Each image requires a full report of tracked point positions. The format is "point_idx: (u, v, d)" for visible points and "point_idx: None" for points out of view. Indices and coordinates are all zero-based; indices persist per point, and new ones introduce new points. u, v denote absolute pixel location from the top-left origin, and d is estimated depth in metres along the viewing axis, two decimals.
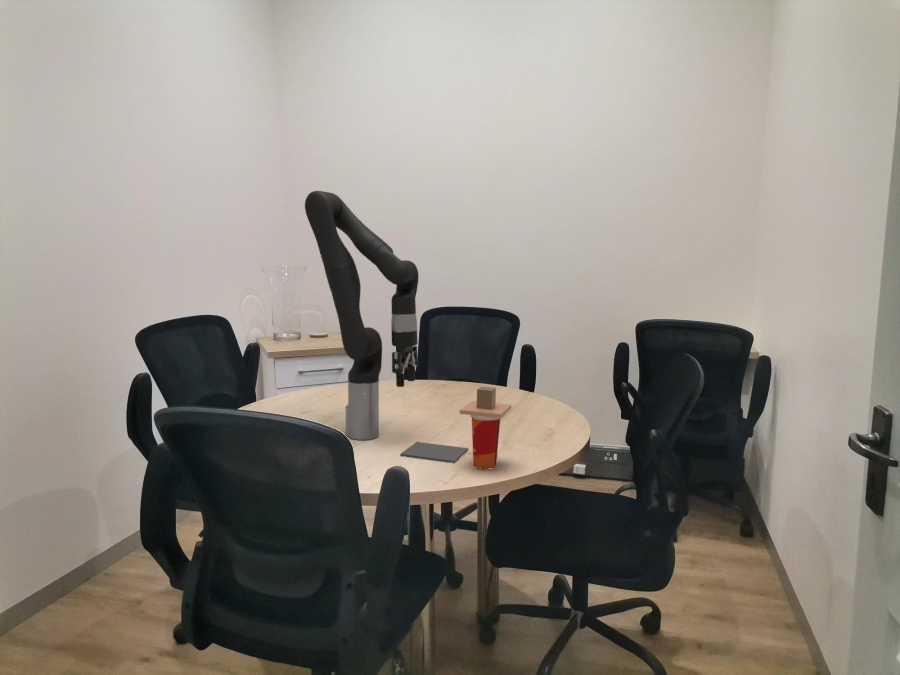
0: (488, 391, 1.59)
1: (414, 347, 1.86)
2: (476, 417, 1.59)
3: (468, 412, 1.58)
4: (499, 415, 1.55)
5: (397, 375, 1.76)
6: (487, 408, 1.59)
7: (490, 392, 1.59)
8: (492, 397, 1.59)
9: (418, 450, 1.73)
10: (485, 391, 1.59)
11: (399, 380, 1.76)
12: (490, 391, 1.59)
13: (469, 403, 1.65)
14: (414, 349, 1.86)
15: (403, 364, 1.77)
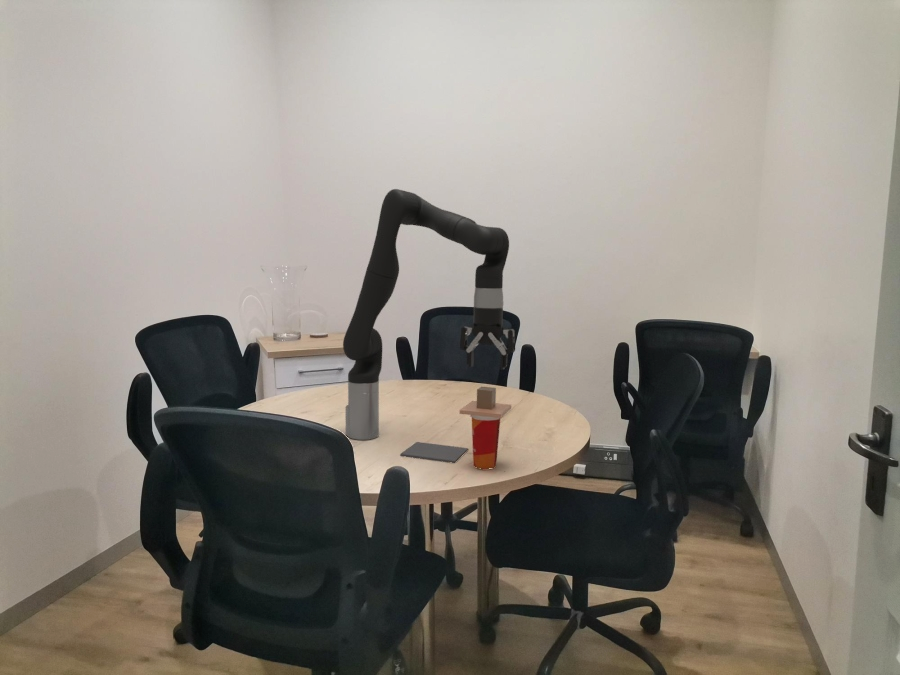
0: (488, 391, 1.59)
1: None
2: (476, 417, 1.59)
3: (468, 412, 1.58)
4: (499, 415, 1.55)
5: (506, 356, 1.58)
6: (487, 408, 1.59)
7: (490, 392, 1.59)
8: (492, 397, 1.59)
9: (418, 450, 1.73)
10: (485, 391, 1.59)
11: (506, 361, 1.58)
12: (490, 391, 1.59)
13: (469, 403, 1.65)
14: None
15: (503, 343, 1.59)
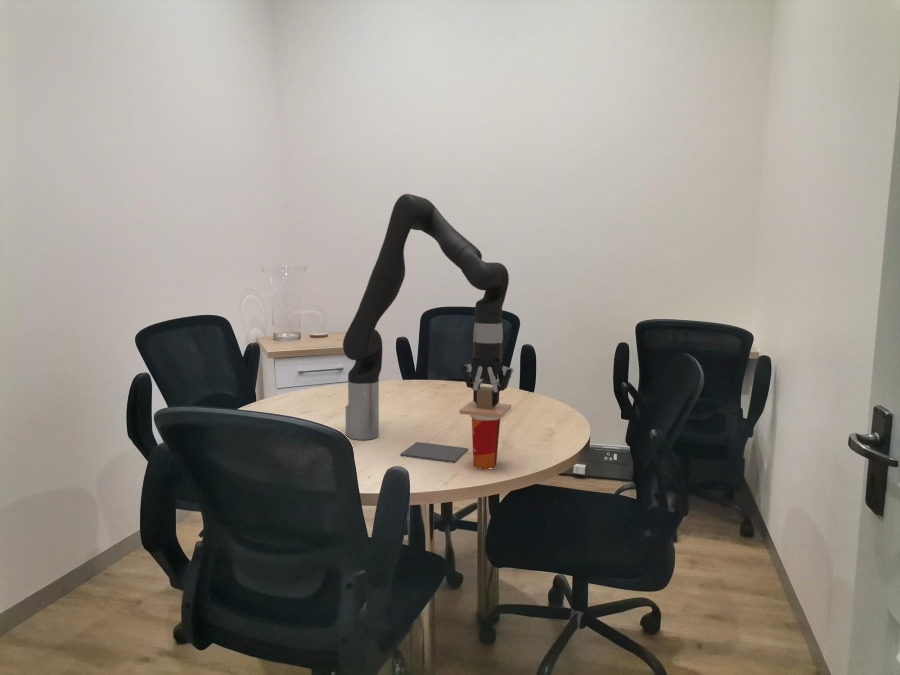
0: (488, 391, 1.59)
1: (467, 365, 1.63)
2: (476, 417, 1.59)
3: (468, 412, 1.57)
4: (499, 415, 1.55)
5: (498, 393, 1.60)
6: (487, 408, 1.59)
7: (490, 392, 1.59)
8: (492, 397, 1.59)
9: (418, 450, 1.73)
10: (485, 391, 1.59)
11: (498, 398, 1.60)
12: (490, 391, 1.59)
13: (469, 403, 1.65)
14: None
15: (498, 380, 1.61)
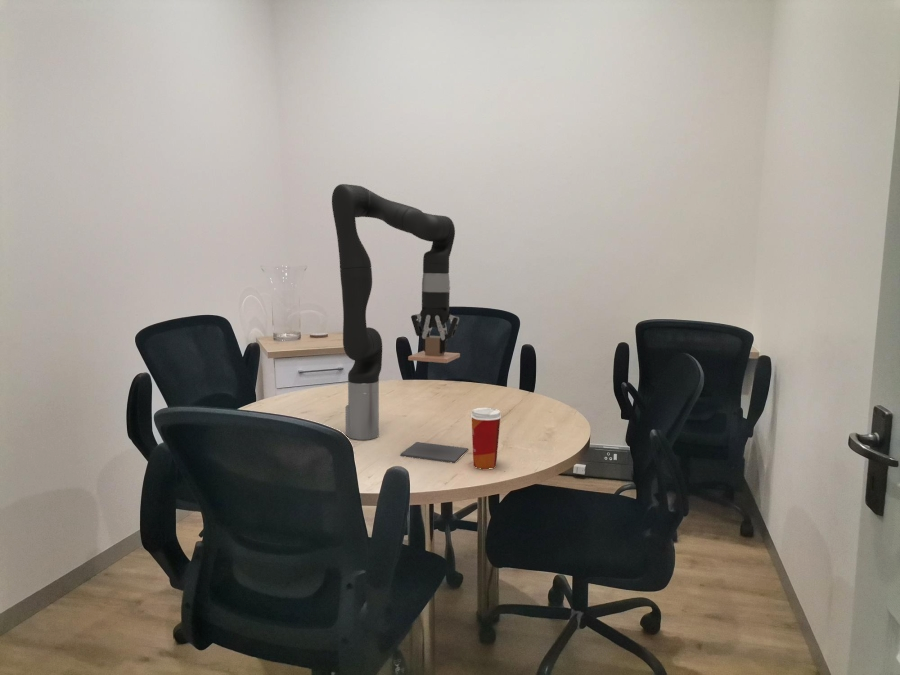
0: (436, 338, 1.66)
1: (416, 315, 1.70)
2: (476, 417, 1.59)
3: (416, 358, 1.65)
4: (445, 360, 1.62)
5: (445, 341, 1.67)
6: (435, 355, 1.67)
7: (437, 339, 1.66)
8: None
9: (418, 450, 1.73)
10: (433, 338, 1.66)
11: (446, 346, 1.68)
12: (437, 338, 1.66)
13: (419, 352, 1.73)
14: None
15: (446, 328, 1.68)
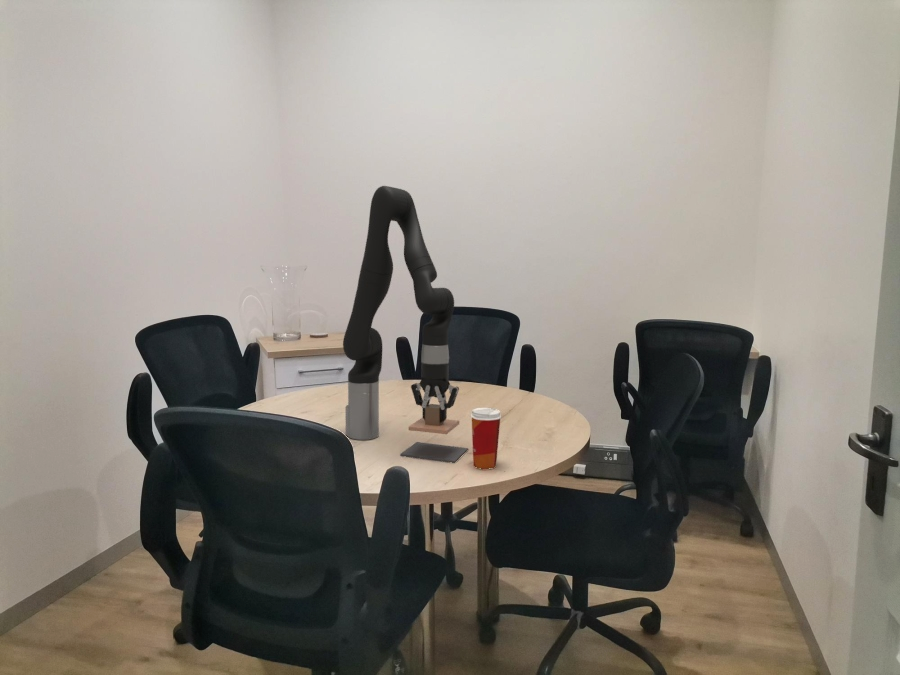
0: (435, 408, 1.69)
1: None
2: (476, 417, 1.59)
3: (416, 428, 1.67)
4: (445, 431, 1.65)
5: (445, 410, 1.70)
6: (435, 424, 1.69)
7: (437, 409, 1.69)
8: (439, 414, 1.69)
9: (418, 450, 1.73)
10: (433, 408, 1.69)
11: (445, 415, 1.70)
12: (437, 408, 1.69)
13: (419, 419, 1.75)
14: None
15: (445, 398, 1.71)
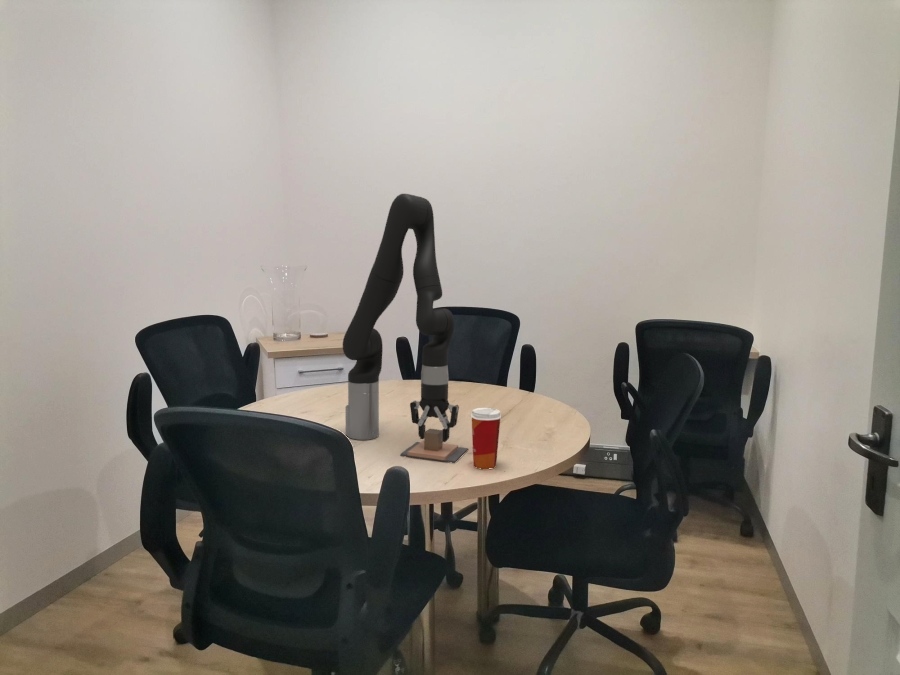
0: (434, 434, 1.70)
1: (416, 402, 1.73)
2: (476, 417, 1.59)
3: (415, 454, 1.68)
4: (443, 457, 1.66)
5: (448, 429, 1.70)
6: (433, 450, 1.70)
7: (436, 435, 1.69)
8: (438, 439, 1.70)
9: None
10: (432, 434, 1.70)
11: (448, 434, 1.71)
12: (436, 434, 1.70)
13: (419, 444, 1.76)
14: None
15: (446, 417, 1.71)
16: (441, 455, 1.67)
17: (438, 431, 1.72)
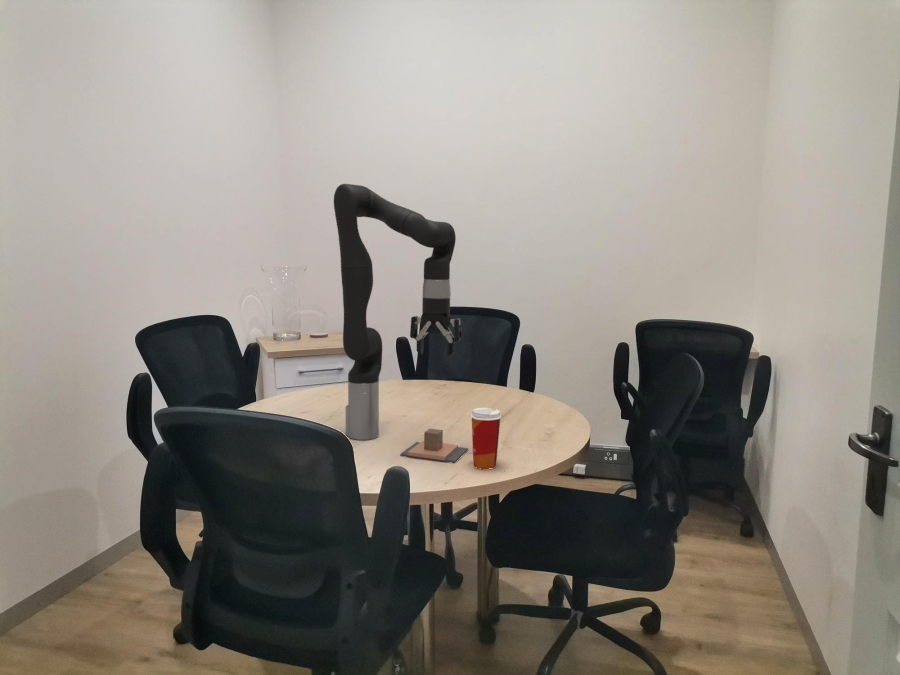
0: (434, 434, 1.70)
1: (417, 317, 1.70)
2: (476, 417, 1.59)
3: (415, 454, 1.68)
4: (443, 457, 1.66)
5: (453, 344, 1.67)
6: (433, 450, 1.70)
7: (436, 435, 1.69)
8: (438, 439, 1.70)
9: None
10: (432, 434, 1.70)
11: (453, 349, 1.67)
12: (436, 434, 1.70)
13: (419, 444, 1.76)
14: None
15: (450, 332, 1.68)
16: (441, 455, 1.67)
17: (438, 431, 1.72)
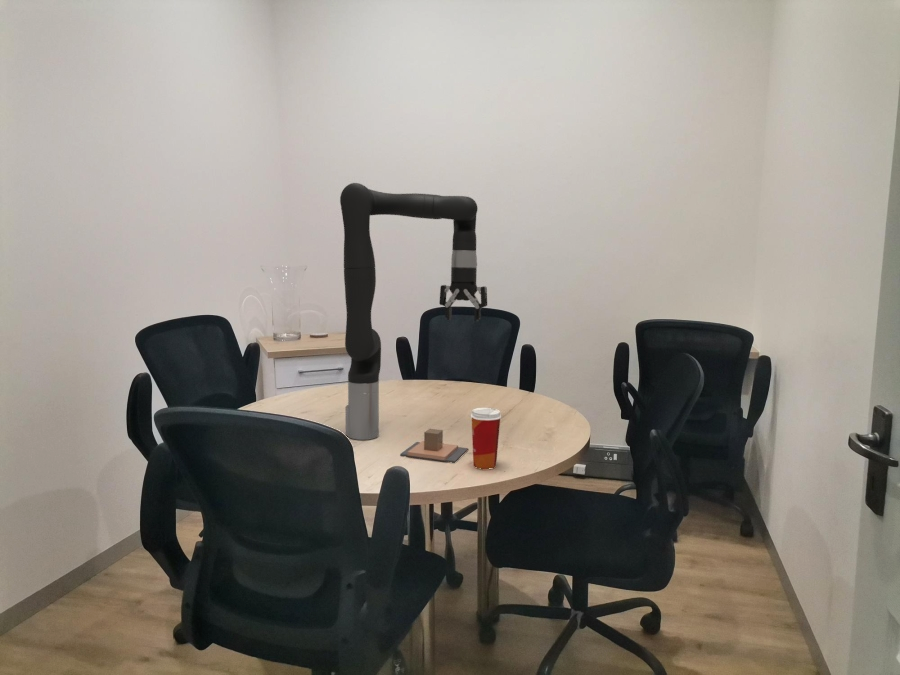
0: (434, 434, 1.70)
1: (446, 286, 1.85)
2: (476, 417, 1.59)
3: (415, 454, 1.68)
4: (443, 457, 1.66)
5: (479, 310, 1.82)
6: (433, 450, 1.70)
7: (436, 435, 1.69)
8: (438, 439, 1.70)
9: None
10: (432, 434, 1.70)
11: (480, 314, 1.82)
12: (436, 434, 1.70)
13: (419, 444, 1.76)
14: None
15: (476, 299, 1.83)
16: (441, 455, 1.67)
17: (438, 431, 1.72)
